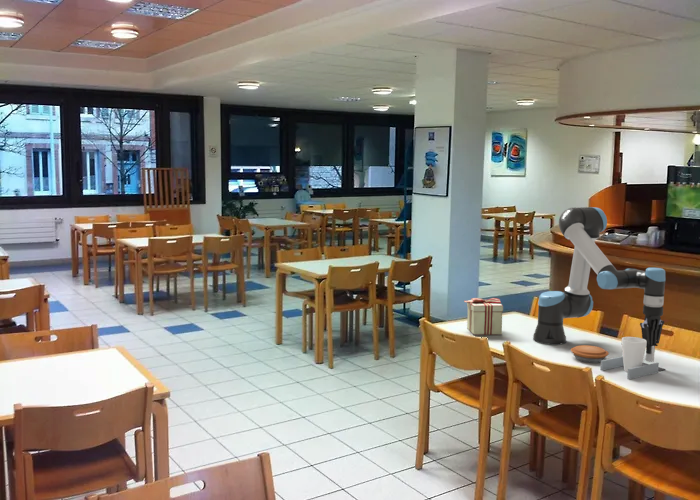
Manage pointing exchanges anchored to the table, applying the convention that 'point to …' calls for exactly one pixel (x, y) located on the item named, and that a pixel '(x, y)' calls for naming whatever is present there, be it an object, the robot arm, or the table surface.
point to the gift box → (484, 316)
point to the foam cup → (633, 352)
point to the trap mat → (658, 367)
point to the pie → (589, 353)
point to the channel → (632, 372)
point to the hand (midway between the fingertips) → (649, 360)
